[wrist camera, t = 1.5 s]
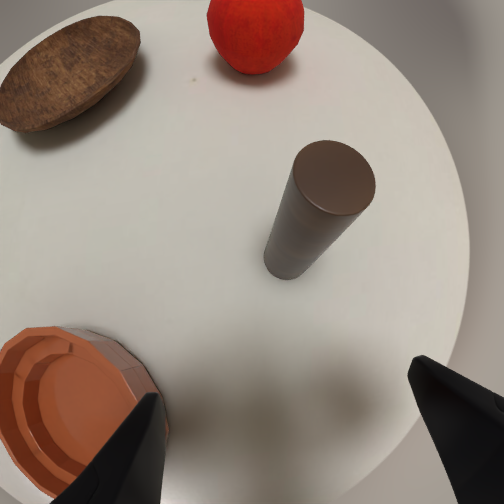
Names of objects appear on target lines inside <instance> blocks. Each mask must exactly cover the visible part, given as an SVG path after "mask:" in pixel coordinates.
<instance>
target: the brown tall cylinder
mask: <svg viewBox="0 0 504 504" xmlns="http://www.w3.org/2000/svg"><path fill="white" fill-rule="evenodd" d="M375 188H376V186H375V177H374V174H373V171H372V169H371V167H370V165H369V164H368V162H367V161H366V159H365V158H364V157H363V156H362V155H361V154H360V153H359V152H357V151H356V150H355V149H353V148H351V147H350V146H348V145H346V144H343V143H340V142H336V141H330V140H323V141H317V142H313V143H311V144H309V145H307V146H305V147H304V148H303V149H302V150H301V151H300V152H299V153H298V154H297V156H296V158H295V160H294V163H293V166H292V169H291V172H290V175H289V179H288V182H287V185H286V188H285V191H284V194H283V197H282V200H281V203H280V206H279V209H278V212H277V215H276V218H275V221H274V225H273V228H272V231H271V234H270V237H269V240H268V243H267V246H266V249H265V252H264V261H265V265H266V267H267V269H268V270H269V271H270V272H271V274H273V275H274V276H276V277H278V278H280V279H285V280H289V279H294V278H297V277H299V276H300V275H301V274H302V273H303V272H304V271H305V270H306V269H307V268H308V267H309V266H310V265H311V264H312V263H313V262H314V261H315V260H316V259H317V258H318V257H319V256H320V255H321V254H322V253H323V252H324V251H325V250H326V249H327V248H328V247H329V246H330V245H331V244H332V243H333V242H334V241H335V240H336V239H337V238H338V237H339V236H340V235H341V234H342V233H343V232H344V231H345V230H346V229H347V228H348V227H349V226H350V225H351V224H352V223H353V222H354V221H355V220H356V218H357V217H358V216H359V215H360V214H361V213H362V212H363V211H364V210H365V209H366V208H367V207H368V206H369V205H370V203H371V202H372V200H373V197H374V194H375Z"/></svg>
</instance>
